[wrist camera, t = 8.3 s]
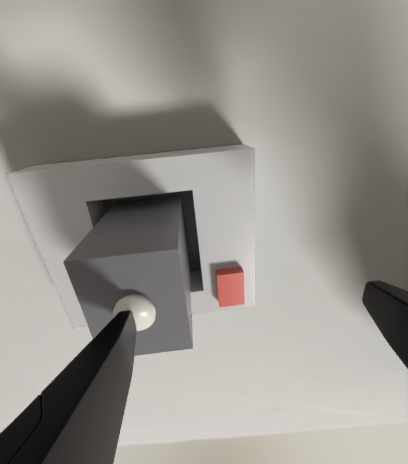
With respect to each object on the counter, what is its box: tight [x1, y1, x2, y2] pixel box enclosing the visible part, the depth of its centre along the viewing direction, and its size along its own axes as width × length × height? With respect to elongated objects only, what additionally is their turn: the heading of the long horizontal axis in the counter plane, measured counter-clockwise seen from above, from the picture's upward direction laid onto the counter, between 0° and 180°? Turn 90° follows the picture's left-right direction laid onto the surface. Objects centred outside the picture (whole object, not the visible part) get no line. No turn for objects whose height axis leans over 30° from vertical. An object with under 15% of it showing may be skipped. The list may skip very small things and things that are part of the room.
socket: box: [6, 144, 255, 328], centre depth 15 cm, size 12×10×3 cm
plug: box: [63, 195, 193, 356], centre depth 12 cm, size 4×5×7 cm
